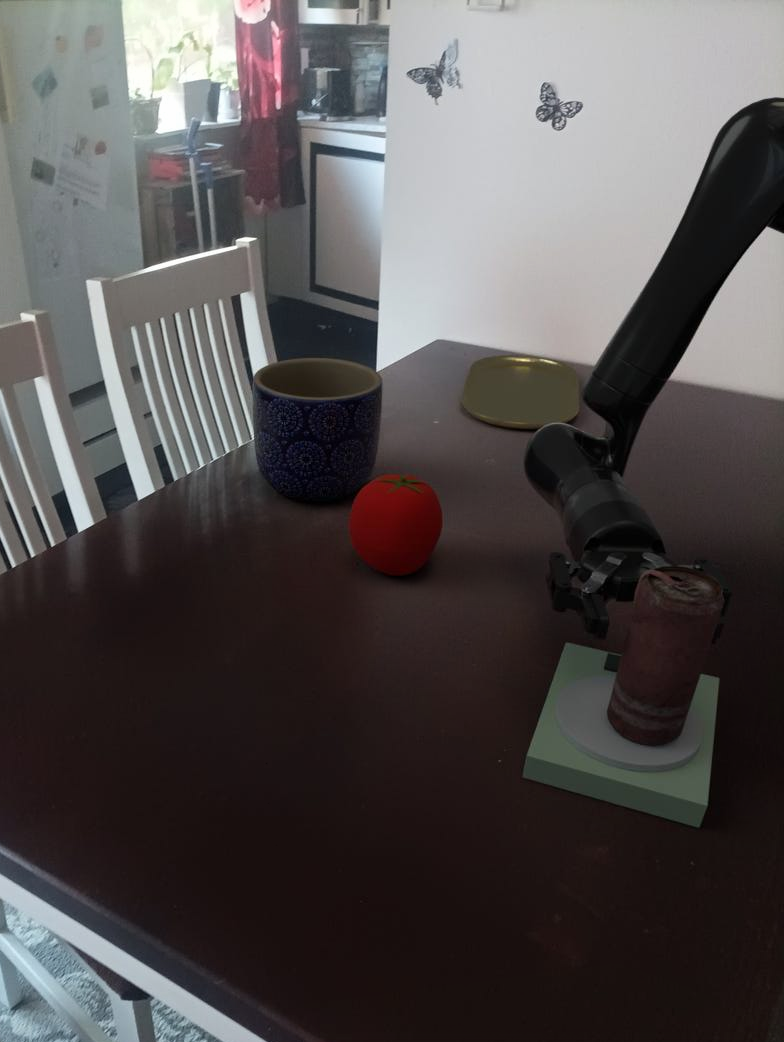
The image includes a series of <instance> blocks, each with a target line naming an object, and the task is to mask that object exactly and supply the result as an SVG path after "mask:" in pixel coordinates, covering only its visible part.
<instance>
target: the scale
mask: <svg viewBox="0 0 784 1042" xmlns="http://www.w3.org/2000/svg"><path fill="white" fill-rule="evenodd" d="M621 655H622V654H618V653H615V652H610V651H605V650H601V649H597V648H593V647H588V646H583V645H580V644H576V643H571V642H567V641H566V642H565V644H564V647H563V650H562V653H561V655H560V659H559V661H558V665H557V667H556V670H555V672H554V675H553V679H552V682H551V685H550V687H549V690H548V693H547V696H546V699H545V702H544V705H543V707H542V710H541V713H540V715H539V716H540V717H539V719H538V721H537V725H536V728H535V731H534V733H533V736H532V739H531V742H530V745H529V748H528V751H527V753H526V757H525V763H524V766H523V771H522V778H523V779H526V780H530V781H533V782H537V783H540V784H544V785H547V786H550V787H555V788H558V789H562V790H565V791H567V792H572V793H575V794H579V795H582V796H585V797H589V798H593V799H597V800H599V801H602V802H607V803H610V804H614V805H618V806H620V807H624V808H628V809H632V810H635V811H639V812H641V813H646V814H649V815H652V816H656V817H659V818H663V819H666V820H669V821H673V822H677V823H680V824H684V825H687V826H690V827H694V828H696V829H700V828H701V825H702V822H703V820H704V816H705V814H706V811H707V809H708V807H709V806H708V805H709V796H710V795H709V794H710V784H711V773H712V763H713V752H714V742H715V732H716V731H715V730H716V729H715V728H716V720H717V711H718V709H717V708H718V697H719V687H720V678H719V677H718V676H717V677H716V676H712V675H708V674H704V673H701V675H700V678H699V681H698V684H697V687H696V690H695V693H694V696H693V699H692V702H691V706H690V709H689V712H688V715H687V718H686V721H685V724H684V727H683V730H682V733H681V735H680V736H679V737H678V738H676V739H675V740H674V741H672V742H670V743H668V744H665V745H661V746H647V745H640V744H637V743H634V742H631V741H629V740H627V739H625V738H623V737H622V736H621V735H619V734H618V733H617V732H616V731H615V730H614V729H613V727H612V726H611V724H610V722H609V720H608V716H607V709H608V705H609V701H610V697H611V694H612V690H613V686H614V682H615V678H616V674H617V671H618V667H619V663H620V659H621Z"/></svg>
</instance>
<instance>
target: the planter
mask: <svg viewBox="0 0 784 1042" xmlns="http://www.w3.org/2000/svg"><path fill="white" fill-rule="evenodd" d="M382 406H383V378H382V376H381V375H380V373H379V372H377V371H376V370H375V369H373V368H371V367H370V366H367V365H364V364H363V363H362V364H361V363H358V362H355V361H349V360H345V359H336V358H330V357H329V358H328V357H325V358H324V357H303V358H292V359H285V360H280V361H277V362H273V363H270V364H268V365H265V366H263V367H261V368H259V369H258V370H257V371H256V372H255V373H254V374H253V377H252V422H253V423H252V425H253V441H254V451H255V452H254V453H255V459H256V463H257V467H258V470H259V472H260V473H261V474H260V475H262V477H263V479H264V480H265V481H266V482H267V484H268V485H269V486H270V487H271V488H272V489H273V490H274V491H276V492H278V493H279V494H281V495H283V496H285V497H287V498H290V499H293V500H297V501H303V502H315V503H316V502H319V503H320V502H331V501H336V500H340V499H343V498H346V497H348V496H350V495H352V494H354V493H356V492H357V491H358V490H359V489H361V488H362V487H363V486H364V484H365V483H366V482H367V481H368V480H369V478H370V477H371V475H372V473H373V472H374V468H375V465H376V462H377V457H378V456H377V455H378V450H379V443H380V436H381V435H380V434H381V422H382V409H383V407H382Z"/></svg>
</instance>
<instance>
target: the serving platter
mask: <svg viewBox="0 0 784 1042" xmlns="http://www.w3.org/2000/svg"><path fill="white" fill-rule="evenodd" d="M460 403H461V405H462V406H463V408H464V409H465V411H466V412H467V413H468V414H469V415H471V416H472V417H474V418H476V419H477V420H479V421H482V422H483V423H488V424H490V425H493V426H497V427H502V428H507V429H512V430H528V431H529V430H532V431H533V430H539V429H540V428H542V427H543V426H545V425H547V424H551V423H565V424H568V423H569V422H570V421H572V420H573V419H574V418H576V416H577V415H578V414H579V412H580V377H579V373H578V371H576V369H574V368H573V367H571V366H570V365H568V364H566V363H564V362H560V361H557V360H554V359H549V358H546V357H539V356H533V355H524V354H523V355H522V354H521V355H520V354H503V355H502V354H501V355H492V356H488V357H483V358H480V359H478V360H475V361H474V362H473V363H472V364H470V367H469V370H468V374H467V377H466V380H465V384H464V387H463V391H462V395H461V397H460Z"/></svg>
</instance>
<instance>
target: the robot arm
mask: <svg viewBox="0 0 784 1042" xmlns="http://www.w3.org/2000/svg"><path fill="white" fill-rule="evenodd" d="M767 228H769V229H771V230H773V231H775V232H779V233H781V234H783V235H784V97H780V96H779V97H777V96H776V97H768V98H762V99H760V100H757V101H754V102H751V103H749V104H748V105H746V106H744V107H742V108H741V109H739V110H738V111H737V112H735V113H734V114H733V115H731V117H729V119H728V120H727V121H726V122H725V123H724V124H723V125H722V126H721V127H720V129H719V130H718V131H717V133H716V135H715V136H714V138H713V141H712V143H711V145H710V148H709V151H708V154H707V157H706V159H705V162H704V165H703V167H702V170H701V172H700V173H699V177H698V179H697V182H696V184H695V187H694V189H693V192H692V194H691V197H690V199H689V201H688V203H687V206H686V207H685V210H684V212H683V214H682V216H681V218H680V220H679V223H678V225H677V227H676V229H675V231H674V232H673V235H672V237H671V239H670V241H669V242H668V244H667V247H666V248H665V250H664V252H663V253H662V256H661V258H660V259H659V261H658V263H657V264H656V266H655V267H654V270H653V271H652V273H651V275H650V276H649V278H648V279H647V282H645V284H644V286H643V288H642V289H641V291H640V292H639V294H638V296H637V297H636V298H635V300H634V301H633V304H632V305H631V306H630V308H629V310H628V311H627V313H626V314H625V316H624V318H623V319H622V320H621V322H620V324H619V325H618V327H617V329H616V330H615V332H614V333H613V334H612V337H611V338H610V340H609V341H608V343H607V345H606V347H605V348H604V350H603V352H602V353H601V354H600V356H599V358H598V360H596V363H595V364H594V366H593V368H592V370H591V371H590V372H589V375H588V376H587V377H586V379H585V381H584V383H583V385H582V386H581V387H582V388H581V391H580V398H581V400H582V403H583V405H585V406H586V407H587V408H588V409H589V410H590V411H591V412H593V413H594V414H595V415H597V416H598V417H599V418H600V419H601V420H603V421H604V422H605V428H604V432H603V434H602V435H601V437H598V436H595V435H593V434H591V433H589V432H587V431H584V430H582V429H580V428H577V427H575V426H572V425H571V424H568V423H551V424H547V425H545V426H543V427H542V428H540V429H536V431H535V432H534V433H533V434H532V435H531V437H530V438H529V440H528V442H527V443H526V446H525V449H524V452H523V459H522V460H523V461H522V462H523V471H524V475H525V477H526V480H527V482H528V483H529V485H530V486H531V487H532V489H533V490H534V491H535V492H536V493H537V494H538V495H539V496H540V497H541V498H542V500H544V501H545V503H546V504H548V506H549V507H551V508H552V509H553V510H554V511H556V513H557V516H558V518H559V521H560V523H561V525H562V530H563V535H564V540H565V544H566V546H567V547H568V550H569V552H570V554H571V557H572V559H573V561H571V560H566V558H565V555H564V554H563V553H561V552H556V551H555V552H554V551H553V552H551V553H550V554H549V558H548V562H547V563H548V564H547V568H546V575H545V583H546V587H547V592H548V595H549V600H550V605H551V608H552V610H553V611H555V612H557V613H564V612H567V610H572V611H574V613H575V615H576V616H578V617H579V619H580V621H581V623H582V626H583V629H584V631H585V632H586V633H587V634H590V635H592V636H593V639H594V640H595V641H605V640H606V638H607V635H608V632H609V631H608V630H609V626H610V622H611V621H610V620H611V619H610V615H609V613H608V611H607V608H606V605H607V604H608V603H609V602H610V601H613V600H615V601H616V602H617V603H629V602H630V603H631V602H634V596H635V591H636V588H637V585H638V582H639V579H640V576H641V575H642V574H643V573H644V572H645V571H647V570H650V569H652V570H653V569H655V568H658V567H662V566H682V567H688V568H692V569H696V570H699V571H701V572H704V573H706V574H708V575H710V576H711V577H713V578H715V579H716V580H717V581H718V582H719V583H720V584H721V587H722V589H723V591H722V594H723V598H724V604H723V608H722V611H721V614H720V617H719V620H718V623H717V626H716V629H715V632H714V635H713V638H712V641H711V644H710V645H715V644H716V642H717V639H720V638H721V635H722V631H723V629H724V625H725V616H726V613H727V609H728V605H729V602H730V599H731V597H732V595H733V592H734V590H733V588H732V587H731V585H730V584H729V583H728V582H727V580H726V579H725V578H724V577H723V575H722V574H721V573H720V571H719V570H718V568H717V567H715V565H714V564H713V563H712V561H711V560H710V559H708V558H707V557H704V556H698V557H695V559H694V563H693V564H678V563H677V561H676V560H674V559H672V558H671V557H669V556H668V554H667V552H666V548H665V544H664V541H663V538H662V536H661V534H660V532H659V531H658V530H657V527H656V526H655V525H654V524H653V521H652V519H651V518H650V516H649V515H648V513H647V511H646V510H645V508H644V506H643V505H642V503H641V502H640V500H639V499H638V498H637V497H636V496H635V495H634V494H633V493H632V492H631V490H630V489H629V487H628V485H627V484H626V481H625V480H624V479H623V478H624V476H625V473H626V469H627V466H628V463H629V460H630V456H631V453H632V450H633V447H634V445H635V442H636V439H637V436H638V434H639V431H640V429H641V427H642V425H643V422H644V420H645V417H646V415H647V413H648V411H649V410H650V409H651V407H652V405H653V403H654V402H655V401H656V399H657V398H658V396H659V395H660V393H661V392H662V390H663V389H664V387H665V385H667V382H669V379H670V378H671V376H672V375H673V373H674V371H675V370H676V368H677V367H678V365H679V364H680V362H681V361H682V359H683V357H684V355H685V353H686V352H687V350H688V348H689V346H691V345H690V344H691V343H692V341H693V339H694V337H695V336H696V334H697V331H698V330H699V328H700V326H701V324H702V322H703V320H704V318H705V317H706V315H707V313H708V311H709V309H710V307H711V306H712V304H713V302H714V301H715V298H716V297H717V295H718V294H719V292H720V290H721V288H722V287H723V286H724V284H725V282H726V281H727V279H728V278H729V276H730V274H731V273H732V272H733V270H734V269H735V268H736V267H737V265H738V263H739V262H740V260H741V259H742V258H743V256H744V255H745V253H747V251H748V250H749V249H750V247H751V246H752V245H753V244H754V243H755V241H756V240H757V239H758V238H759V236H760V235H761V234H762V233H763V232H764V231H765V229H767ZM574 577H577V579H578V581H580V582H581V583H582V585H581V586H580V588H579V587H574V586H573V582H572V580H573V578H574Z"/></svg>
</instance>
